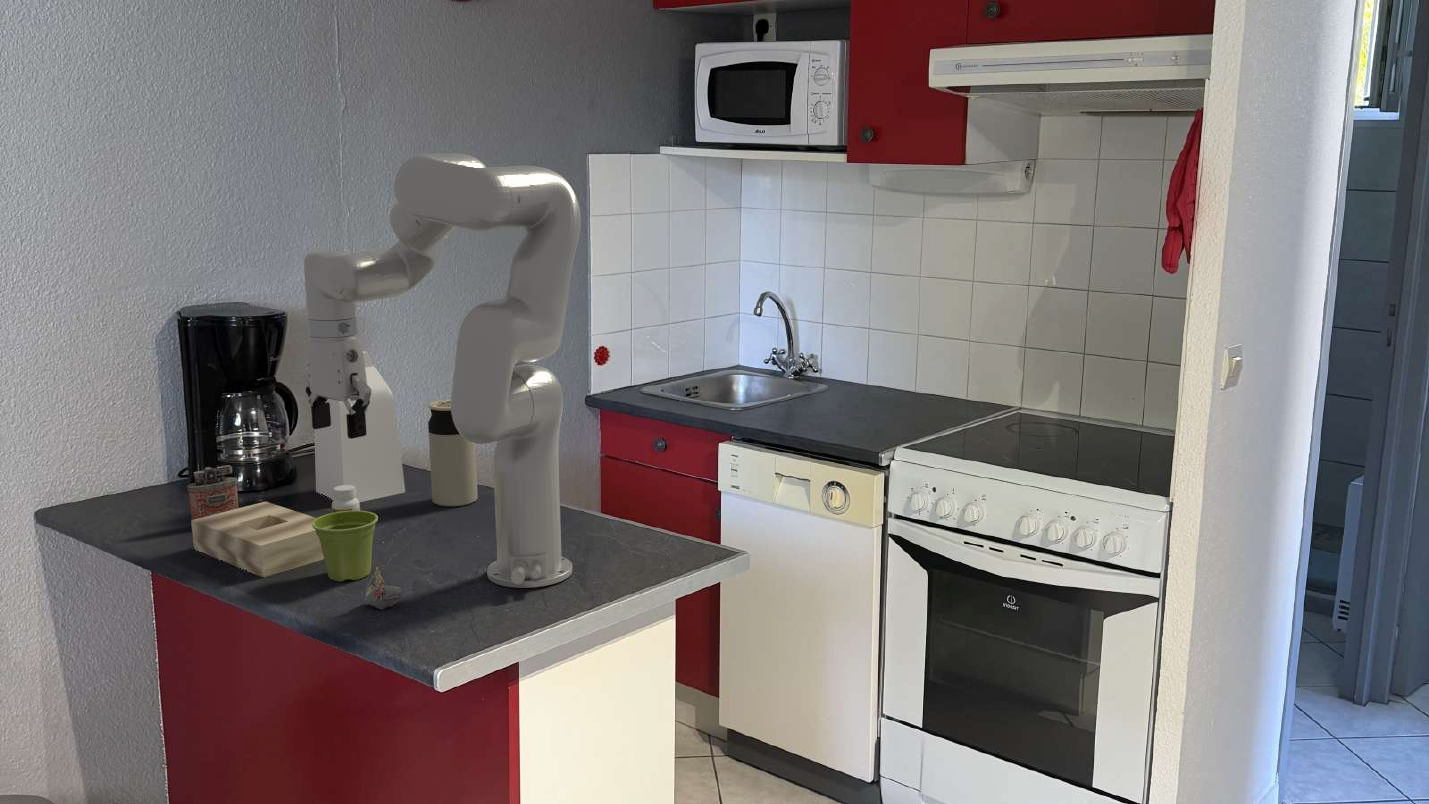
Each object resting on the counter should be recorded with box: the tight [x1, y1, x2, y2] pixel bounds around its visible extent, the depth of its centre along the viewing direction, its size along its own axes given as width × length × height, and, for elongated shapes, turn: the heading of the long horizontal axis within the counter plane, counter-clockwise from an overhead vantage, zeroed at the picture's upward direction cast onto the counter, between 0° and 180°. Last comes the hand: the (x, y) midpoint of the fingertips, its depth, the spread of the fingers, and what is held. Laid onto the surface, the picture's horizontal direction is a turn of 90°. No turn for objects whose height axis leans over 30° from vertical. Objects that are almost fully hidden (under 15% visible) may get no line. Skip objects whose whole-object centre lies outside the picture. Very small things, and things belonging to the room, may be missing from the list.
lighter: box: [186, 464, 240, 528], centre depth 208 cm, size 8×3×10 cm, turn 129°
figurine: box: [364, 565, 403, 611], centre depth 172 cm, size 5×4×6 cm
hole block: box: [190, 501, 324, 578], centre depth 194 cm, size 20×13×5 cm, turn 51°
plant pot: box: [312, 510, 379, 582], centre depth 184 cm, size 9×9×9 cm
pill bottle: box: [331, 485, 361, 513], centre depth 204 cm, size 4×4×8 cm
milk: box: [314, 350, 406, 503], centre depth 225 cm, size 12×12×26 cm
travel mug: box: [427, 398, 478, 508], centre depth 220 cm, size 8×8×18 cm
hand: (339, 432), depth 201 cm, fingers open, 9 cm apart
